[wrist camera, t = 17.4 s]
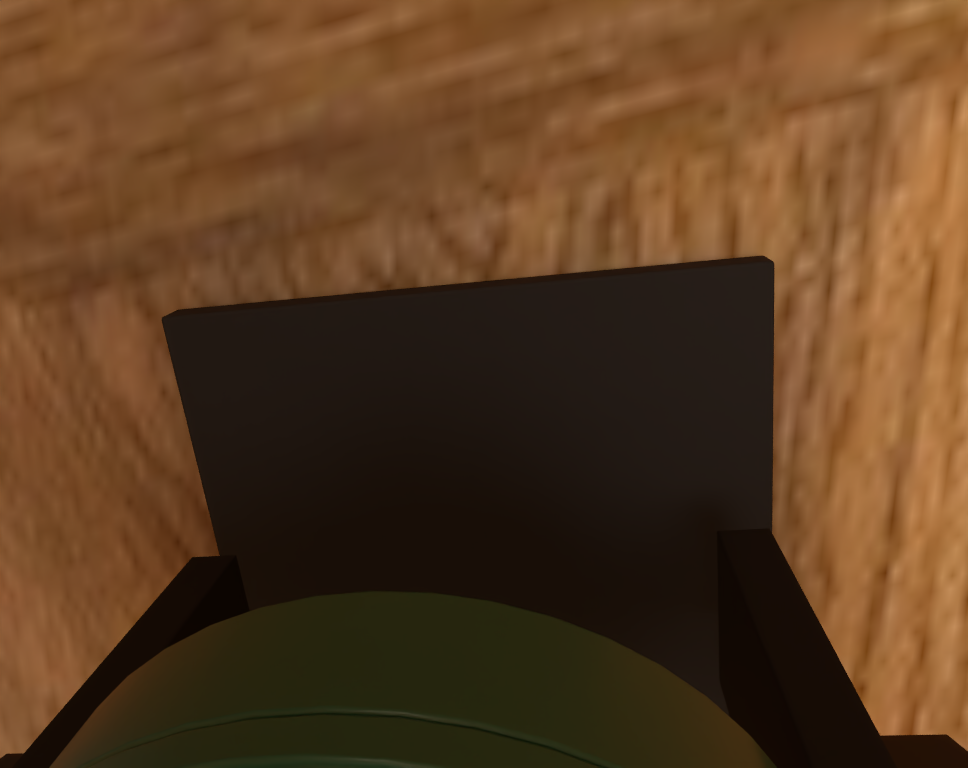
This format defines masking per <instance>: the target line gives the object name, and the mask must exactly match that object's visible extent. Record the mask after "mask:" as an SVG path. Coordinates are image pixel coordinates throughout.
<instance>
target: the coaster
mask: <svg viewBox="0 0 968 768" xmlns="http://www.w3.org/2000/svg"><path fill="white" fill-rule="evenodd" d="M162 324H163V328H164V332H165V336H166V340H167V344H168V348H169V352H170V356H171V360H172V364H173V368H174V372H175V376H176V380H177V384H178V388H179V392H180V396H181V400H182V404H183V409H184V413H185V417H186V421H187V425H188V429H189V433H190V437H191V441H192V445H193V449H194V453H195V457H196V461H197V465H198V469H199V473H200V477H201V481H202V485H203V489H204V494H205V498H206V502H207V506H208V510H209V514H210V518H211V522H212V526H213V530H214V534H215V538H216V542H217V546H218V550H219V554H220V556H228V555H236V556H237V560H238V565H239V569H240V573H241V577H242V581H243V585H244V590H245V594H246V598H247V602H248V606H249V610H250V611H252V610H255V609H258V608H261V607H265V606H270V605H274V604H279V603H284V602H288V601H293V600H298V599H302V598H307V597H312V596H318V595H330V594H341V593H352V592H363V591H402V592H433V593H440V594H448V595H455V596H462V597H469V598H476V599H483V600H490V601H495V602H499V603H503V604H507V605H511V606H514V607H518V608H522V609H526V610H530V611H534V612H538V613H542V614H546V615H549V616H553V617H555V618H558V619H561V620H563V621H566V622H569V623H571V624H574V625H576V626H579V627H582V628H584V629H587V630H589V631H592V632H595V633H597V634H600V635H603V636H605V637H608V638H610V639H612V640H614V641H616V642H618V643H619V644H621V645H623V646H625V647H627V648H629V649H631V650H633V651H635V652H637V653H639V654H641V655H642V656H644V657H646V658H648V659H650V660H652V661H654V662H656V663H658V664H660V665H661V666H663V667H664V668H666V669H667V670H669V671H670V672H672V673H673V674H675V675H676V676H677V677H679V678H680V679H682V680H683V681H685V682H686V683H688V684H689V685H691V686H692V687H693V688H695V689H696V690H698V691H699V692H701V693H702V694H704V695H705V696H707V697H708V698H709V699H710V700H711V701H712V702H713V703H715V704H716V705H717V706H718V707H719V708H720V709H721V710H722V711H724V712H725V713H726V714H727V715H728V716H729V717H730V715H729V712H728V708H727V705H726V701H725V698H724V695H723V691H722V688H721V684H720V681H719V622H718V562H717V531H726V530H746V529H766V528H769V529H770V531H771V532H772V487H773V366H774V262H773V261H772V260H770V259H768V258H767V257H765V256H754V257H743V258H732V259H721V260H711V261H700V262H689V263H678V264H667V265H657V266H646V267H635V268H624V269H614V270H603V271H592V272H581V273H570V274H560V275H549V276H538V277H527V278H517V279H506V280H495V281H484V282H473V283H463V284H452V285H441V286H430V287H420V288H409V289H398V290H387V291H376V292H366V293H355V294H344V295H333V296H323V297H312V298H301V299H290V300H279V301H269V302H258V303H247V304H236V305H226V306H215V307H204V308H193V309H182V310H177V311H175V312H172V313H170V314H168V315H166V316H164V317H162Z"/></svg>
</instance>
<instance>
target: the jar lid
mask: <svg viewBox="0 0 968 768" xmlns="http://www.w3.org/2000/svg"><path fill="white" fill-rule="evenodd" d="M49 768H777V767H776V765H775V764H774V763H773V762H772V761H771V760H770V758H769V757H768V756H767V755H766V754H765V752H764V751H763V750H762V749H761V748H760V747H759V745H758V744H757V743H756V742H755V741H754V739H753V738H752V737H751V736H750V735H749V734H748V733H747V732H746V731H745V730H744V729H743V728H741V727H740V726H739V725H738V724H737V723H736V722H735V721H734V720H732V719H731V718H730V717H729V716H728V715H727V714H726V713H725V712H724V711H722V710H721V709H720V708H719V707H718V706H717V705H716V704H715V703H713V702H712V701H711V700H710V699H709V698H708V697H707V696H705V695H704V694H702V693H701V692H699V691H698V690H696V689H695V688H693V687H692V686H691V685H689V684H688V683H686V682H685V681H683V680H682V679H680V678H679V677H677V676H676V675H675V674H673V673H672V672H670V671H669V670H667V669H666V668H664V667H663V666H661V665H660V664H658V663H656V662H654V661H652V660H650V659H648V658H646V657H644V656H642V655H641V654H639V653H637V652H635V651H633V650H631V649H629V648H627V647H625V646H623V645H621V644H619V643H618V642H616V641H614V640H612V639H610V638H608V637H605V636H603V635H600V634H597V633H595V632H592V631H589V630H587V629H584V628H582V627H579V626H576V625H574V624H571V623H569V622H566V621H563V620H561V619H558V618H555V617H553V616H549V615H546V614H542V613H538V612H534V611H530V610H526V609H522V608H518V607H514V606H511V605H507V604H503V603H499V602H495V601H490V600H483V599H476V598H469V597H462V596H455V595H448V594H440V593H433V592H402V591H363V592H352V593H341V594H330V595H318V596H312V597H307V598H302V599H298V600H293V601H288V602H284V603H279V604H274V605H270V606H265V607H261V608H258V609H255V610H252V611H249V612H246V613H244V614H241V615H238V616H235V617H232V618H230V619H227V620H224V621H221V622H218V623H215V624H213V625H210V626H208V627H206V628H204V629H202V630H200V631H198V632H197V633H195V634H193V635H191V636H189V637H187V638H185V639H183V640H181V641H179V642H177V643H175V644H174V645H172V646H170V647H168V648H166V649H164V650H163V651H162V652H160V653H159V654H157V655H156V656H155V657H153V658H152V659H151V660H149V661H148V662H146V663H145V664H144V665H142V666H141V667H140V668H138V669H137V670H136V671H134V672H133V673H131V674H130V675H129V676H127V677H126V679H125V680H124V681H123V682H122V683H121V684H120V685H119V686H118V687H117V688H116V689H115V690H114V691H113V692H112V693H111V694H110V695H109V696H108V697H107V698H106V699H105V700H104V701H103V702H102V703H101V704H100V705H99V706H98V707H97V708H96V710H95V711H94V712H93V713H92V715H91V716H90V717H89V718H88V720H87V721H86V722H85V723H84V725H83V726H82V727H81V728H80V730H79V731H78V732H77V733H76V735H75V736H74V737H73V738H72V740H71V741H70V742H69V744H68V745H67V746H66V747H65V749H64V750H63V751H62V752H61V754H60V755H59V756H58V757H57V759H56V760H55V761H54V762H53V764H52V765H51V766H50V767H49Z"/></svg>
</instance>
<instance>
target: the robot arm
mask: <svg viewBox="0 0 968 768" xmlns="http://www.w3.org/2000/svg"><path fill="white" fill-rule="evenodd" d="M717 562H718V622H719V681H720V684H721V688H722V691H723V695H724V698H725V701H726V705H727V708H728V712H729V715H730V718H731V719H732V720H734V721H735V722H736V723H737V724H738V725H739V726H740V727H741V728H743V729H744V730H745V731H746V732H747V733H748V734H749V735H750V736H751V737H752V738H753V739H754V741H755V742H756V743H757V744H758V745H759V747H760V748H761V749H762V750H763V751H764V752H765V754H766V755H767V756H768V757H769V758H770V760H771V761H772V762H773V763H774V764H775V765H776V767H777V768H968V751H966V750H965V749H964V748H963V747H961V746H960V745H959V744H958V743H957V742H955V741H954V740H953V739H952V738H950V737H949V736H948V735H893V736H880V735H879V733H878V731H877V729H876V727H875V725H874V724H873V722H872V720H871V718H870V716H869V714H868V712H867V710H866V709H865V707H864V705H863V703H862V701H861V699H860V697H859V695H858V694H857V692H856V690H855V688H854V686H853V684H852V682H851V680H850V679H849V677H848V675H847V673H846V671H845V669H844V667H843V665H842V664H841V662H840V660H839V658H838V656H837V654H836V652H835V650H834V649H833V647H832V645H831V643H830V641H829V639H828V637H827V636H826V634H825V632H824V630H823V628H822V626H821V624H820V622H819V621H818V619H817V617H816V615H815V613H814V611H813V609H812V607H811V606H810V604H809V602H808V600H807V598H806V596H805V594H804V592H803V591H802V589H801V587H800V585H799V583H798V581H797V579H796V577H795V576H794V574H793V572H792V570H791V568H790V566H789V564H788V562H787V561H786V559H785V557H784V555H783V553H782V551H781V549H780V547H779V546H778V544H777V542H776V540H775V538H774V536H773V534H772V532H771V531H770V529H769V528H766V529H746V530H726V531H717ZM249 611H250V610H249V606H248V602H247V598H246V594H245V590H244V585H243V581H242V577H241V573H240V569H239V565H238V560H237V556H236V555H228V556H209V557H192V558H191V559H190V560H189V562H188V563H187V564H186V565H185V566H184V567H183V569H182V570H181V571H180V572H179V573H178V574H177V576H176V577H175V578H174V579H173V580H172V581H171V583H170V584H169V585H168V586H167V587H166V588H165V590H164V591H163V592H162V593H161V594H160V595H159V597H158V598H157V599H156V600H155V601H154V602H153V604H152V605H151V606H150V607H149V608H148V609H147V611H146V612H145V613H144V614H143V615H142V616H141V618H140V619H139V620H138V621H137V622H136V623H135V625H134V626H133V627H132V628H131V629H130V630H129V632H128V633H127V634H126V635H125V636H124V637H123V639H122V640H121V641H120V642H119V643H118V644H117V646H116V647H115V648H114V649H113V650H112V651H111V653H110V654H109V655H108V656H107V657H106V658H105V660H104V661H103V662H102V663H101V664H100V665H99V667H98V668H97V669H96V670H95V671H94V672H93V674H92V675H91V676H90V677H89V678H88V679H87V681H86V682H85V683H84V684H83V685H82V686H81V688H80V689H79V690H78V691H77V692H76V693H75V695H74V696H73V697H72V698H71V699H70V700H69V702H68V703H67V704H66V705H65V706H64V707H63V709H62V710H61V711H60V712H59V713H58V714H57V716H56V717H55V718H54V719H53V720H52V721H51V723H50V724H49V725H48V726H47V727H46V728H45V730H44V731H43V732H42V733H41V734H40V735H39V737H38V738H37V739H36V740H35V741H34V742H33V744H32V745H31V746H30V747H29V748H28V749H27V750H26V752H25V753H23V754H6V755H5V756H3V757H2V758H1V759H0V768H49V767H50V766H51V765H52V764H53V762H54V761H55V760H56V759H57V757H58V756H59V755H60V754H61V752H62V751H63V750H64V749H65V747H66V746H67V745H68V744H69V742H70V741H71V740H72V738H73V737H74V736H75V735H76V733H77V732H78V731H79V730H80V728H81V727H82V726H83V725H84V723H85V722H86V721H87V720H88V718H89V717H90V716H91V715H92V713H93V712H94V711H95V710H96V708H97V707H98V706H99V705H100V704H101V703H102V702H103V701H104V700H105V699H106V698H107V697H108V696H109V695H110V694H111V693H112V692H113V691H114V690H115V689H116V688H117V687H118V686H119V685H120V684H121V683H122V682H123V681H124V680H125V679H126V677H127V676H129V675H130V674H131V673H133V672H134V671H136V670H137V669H138V668H140V667H141V666H142V665H144V664H145V663H146V662H148V661H149V660H151V659H152V658H153V657H155V656H156V655H157V654H159V653H160V652H162V651H163V650H164V649H166V648H168V647H170V646H172V645H174V644H175V643H177V642H179V641H181V640H183V639H185V638H187V637H189V636H191V635H193V634H195V633H197V632H198V631H200V630H202V629H204V628H206V627H208V626H210V625H213V624H215V623H218V622H221V621H224V620H227V619H230V618H232V617H235V616H238V615H241V614H244V613H246V612H249Z"/></svg>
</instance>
